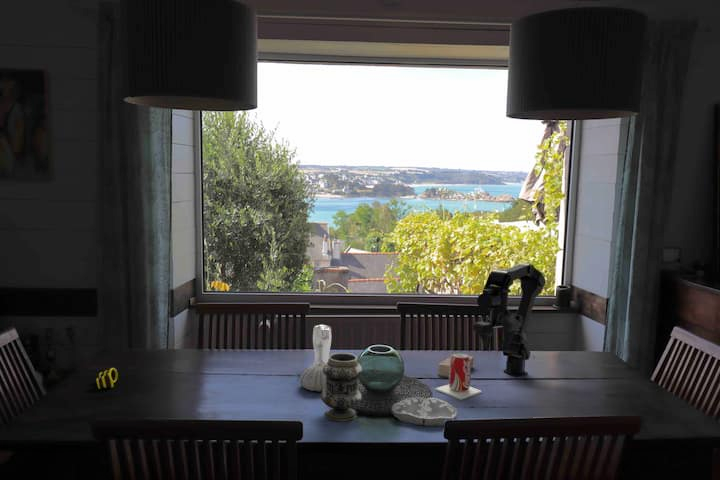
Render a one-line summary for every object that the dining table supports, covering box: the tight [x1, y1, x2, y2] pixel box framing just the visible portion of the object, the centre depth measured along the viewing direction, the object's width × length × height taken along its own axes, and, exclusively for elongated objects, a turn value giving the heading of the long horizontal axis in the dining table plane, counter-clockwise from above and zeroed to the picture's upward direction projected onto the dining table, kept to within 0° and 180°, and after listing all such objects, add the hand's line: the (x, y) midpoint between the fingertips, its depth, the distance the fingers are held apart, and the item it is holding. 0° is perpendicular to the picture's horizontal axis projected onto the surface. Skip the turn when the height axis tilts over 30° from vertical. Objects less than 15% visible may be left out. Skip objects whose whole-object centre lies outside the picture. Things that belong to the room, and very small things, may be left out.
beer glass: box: [312, 324, 332, 364], centre depth 217 cm, size 7×7×15 cm
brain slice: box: [391, 396, 458, 427], centre depth 173 cm, size 20×17×3 cm
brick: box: [437, 354, 475, 378], centre depth 216 cm, size 16×8×5 cm, turn 149°
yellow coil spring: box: [96, 367, 118, 390], centre depth 193 cm, size 10×5×5 cm, turn 15°
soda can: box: [448, 351, 472, 392], centre depth 194 cm, size 7×7×12 cm
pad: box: [434, 383, 483, 401], centre depth 195 cm, size 11×11×1 cm
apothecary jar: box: [320, 352, 363, 422], centre depth 172 cm, size 12×12×18 cm
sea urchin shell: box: [299, 363, 326, 392], centre depth 195 cm, size 13×14×8 cm
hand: (497, 349), depth 204 cm, fingers open, 9 cm apart
